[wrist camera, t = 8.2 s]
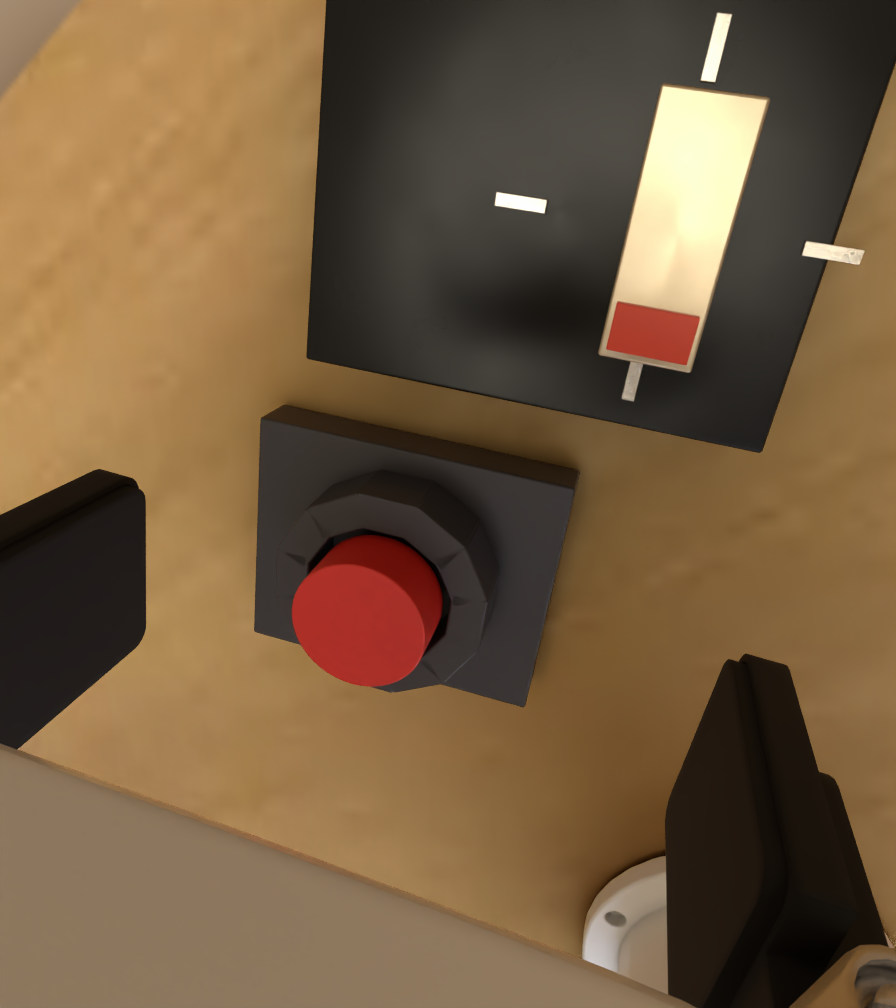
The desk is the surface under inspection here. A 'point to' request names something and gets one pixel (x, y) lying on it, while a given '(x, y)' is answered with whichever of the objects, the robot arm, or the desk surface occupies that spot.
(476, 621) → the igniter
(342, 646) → the button
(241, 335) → the desk surface
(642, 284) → the knob
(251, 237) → the desk surface
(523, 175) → the black lever switch base
